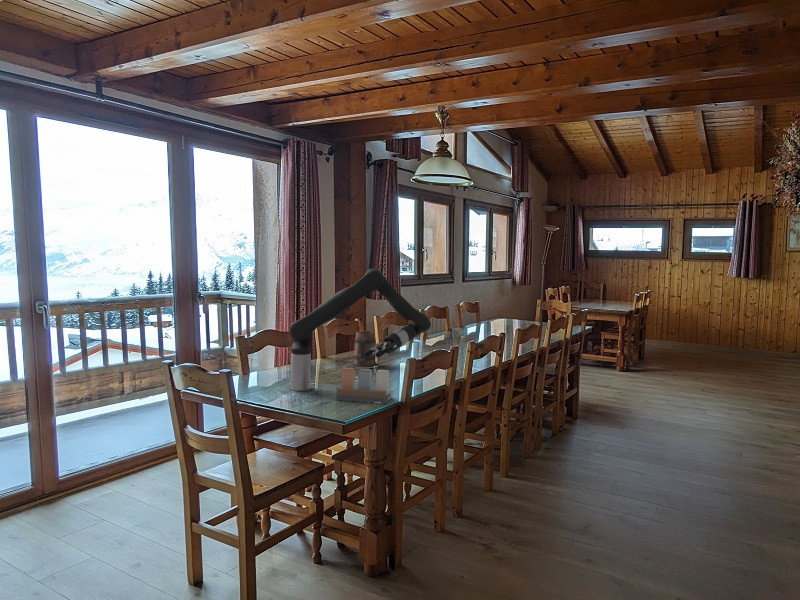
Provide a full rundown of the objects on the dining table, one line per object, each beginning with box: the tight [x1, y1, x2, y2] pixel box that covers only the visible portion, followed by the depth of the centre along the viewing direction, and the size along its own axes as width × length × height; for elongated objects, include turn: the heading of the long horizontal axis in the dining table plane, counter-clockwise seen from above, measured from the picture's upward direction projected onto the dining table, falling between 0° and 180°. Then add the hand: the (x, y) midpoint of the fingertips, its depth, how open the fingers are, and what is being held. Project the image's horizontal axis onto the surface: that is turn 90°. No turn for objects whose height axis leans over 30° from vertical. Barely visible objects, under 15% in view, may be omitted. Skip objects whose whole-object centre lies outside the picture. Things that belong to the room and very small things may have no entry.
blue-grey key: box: [358, 369, 373, 390], centre depth 245 cm, size 4×5×11 cm
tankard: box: [350, 331, 378, 367], centre depth 314 cm, size 24×17×20 cm
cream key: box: [375, 369, 390, 396], centre depth 244 cm, size 4×5×11 cm
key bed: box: [335, 387, 391, 404], centre depth 244 cm, size 12×22×5 cm, turn 79°
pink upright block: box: [340, 367, 356, 389], centre depth 247 cm, size 4×5×11 cm
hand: (370, 355), depth 238 cm, fingers open, 8 cm apart
